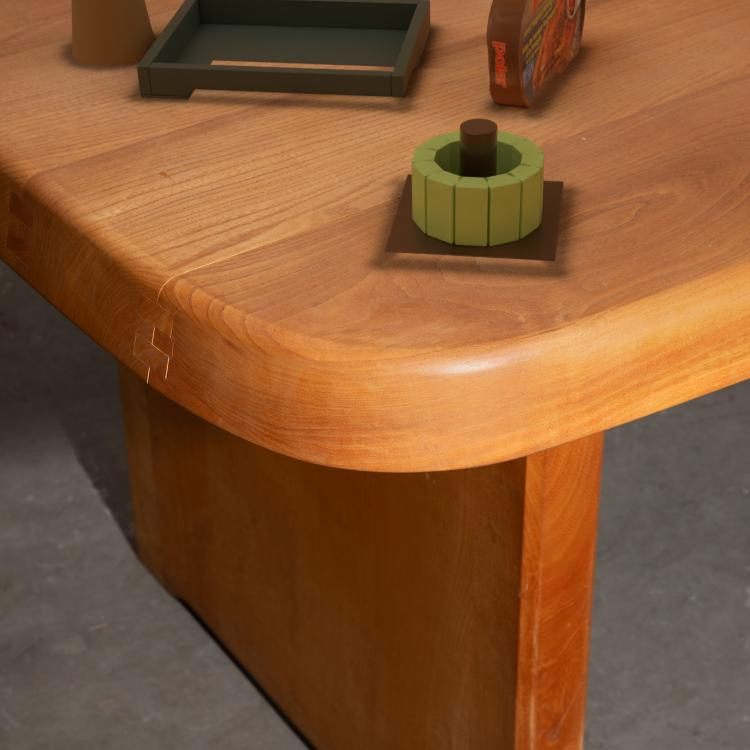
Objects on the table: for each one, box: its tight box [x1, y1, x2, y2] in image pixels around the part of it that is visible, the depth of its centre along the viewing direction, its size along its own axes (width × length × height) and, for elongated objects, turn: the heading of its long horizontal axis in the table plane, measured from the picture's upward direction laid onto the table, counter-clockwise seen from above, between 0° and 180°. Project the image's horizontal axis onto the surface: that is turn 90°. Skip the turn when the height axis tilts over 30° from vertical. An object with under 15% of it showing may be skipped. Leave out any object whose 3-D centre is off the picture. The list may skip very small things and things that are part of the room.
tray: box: [136, 0, 431, 100], centre depth 100 cm, size 18×14×3 cm
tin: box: [485, 0, 587, 109], centre depth 95 cm, size 15×3×8 cm, turn 158°
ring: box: [411, 129, 546, 246], centre depth 79 cm, size 7×7×4 cm
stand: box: [384, 118, 565, 262], centre depth 79 cm, size 9×9×6 cm
